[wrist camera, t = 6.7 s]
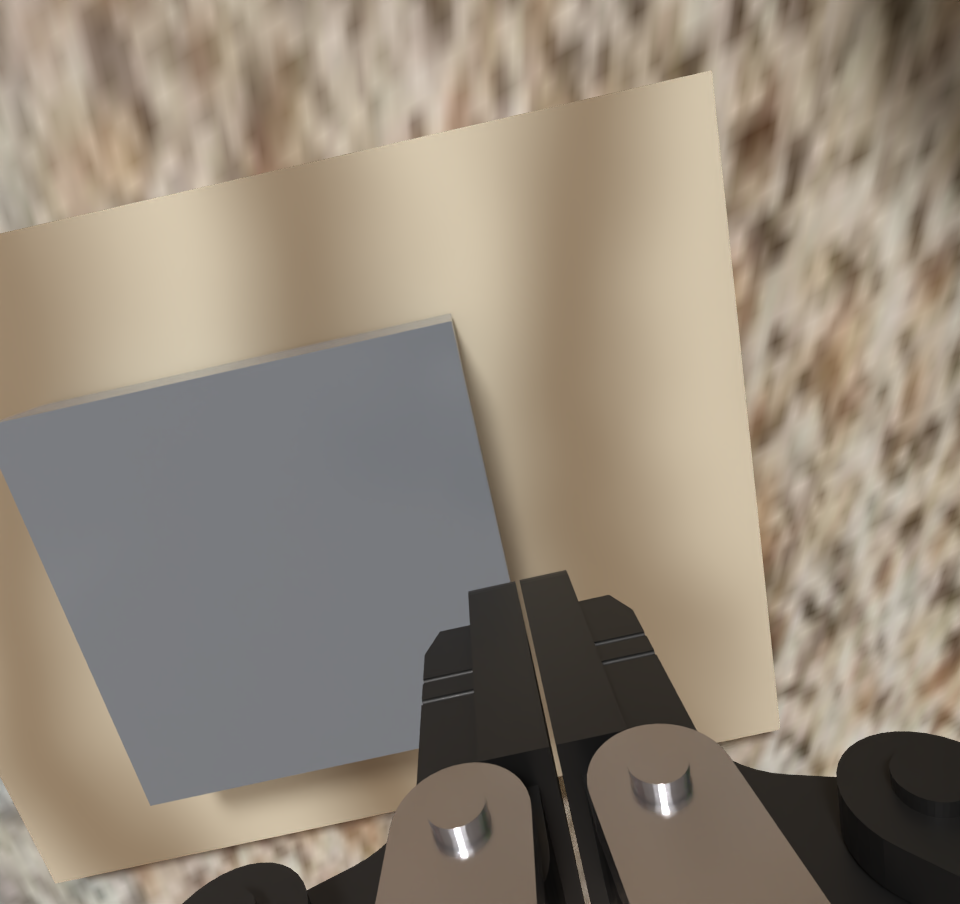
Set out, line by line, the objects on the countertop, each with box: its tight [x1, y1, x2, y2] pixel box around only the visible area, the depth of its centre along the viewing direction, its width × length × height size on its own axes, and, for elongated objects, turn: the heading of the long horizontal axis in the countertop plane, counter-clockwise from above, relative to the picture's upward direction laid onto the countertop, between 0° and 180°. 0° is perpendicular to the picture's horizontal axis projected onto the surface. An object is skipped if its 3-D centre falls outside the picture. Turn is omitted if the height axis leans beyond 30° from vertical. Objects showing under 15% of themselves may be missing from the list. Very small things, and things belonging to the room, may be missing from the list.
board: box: [0, 70, 780, 884], centre depth 16 cm, size 20×16×1 cm
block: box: [0, 313, 511, 806], centre depth 14 cm, size 2×9×9 cm
